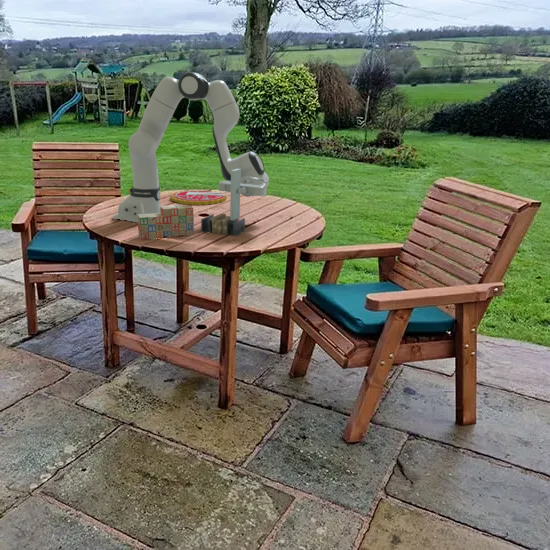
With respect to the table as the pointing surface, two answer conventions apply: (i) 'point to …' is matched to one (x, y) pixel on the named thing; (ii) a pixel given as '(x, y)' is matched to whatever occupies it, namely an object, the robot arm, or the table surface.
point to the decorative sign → (198, 197)
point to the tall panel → (235, 194)
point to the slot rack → (232, 226)
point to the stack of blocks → (167, 222)
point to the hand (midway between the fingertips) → (234, 191)
